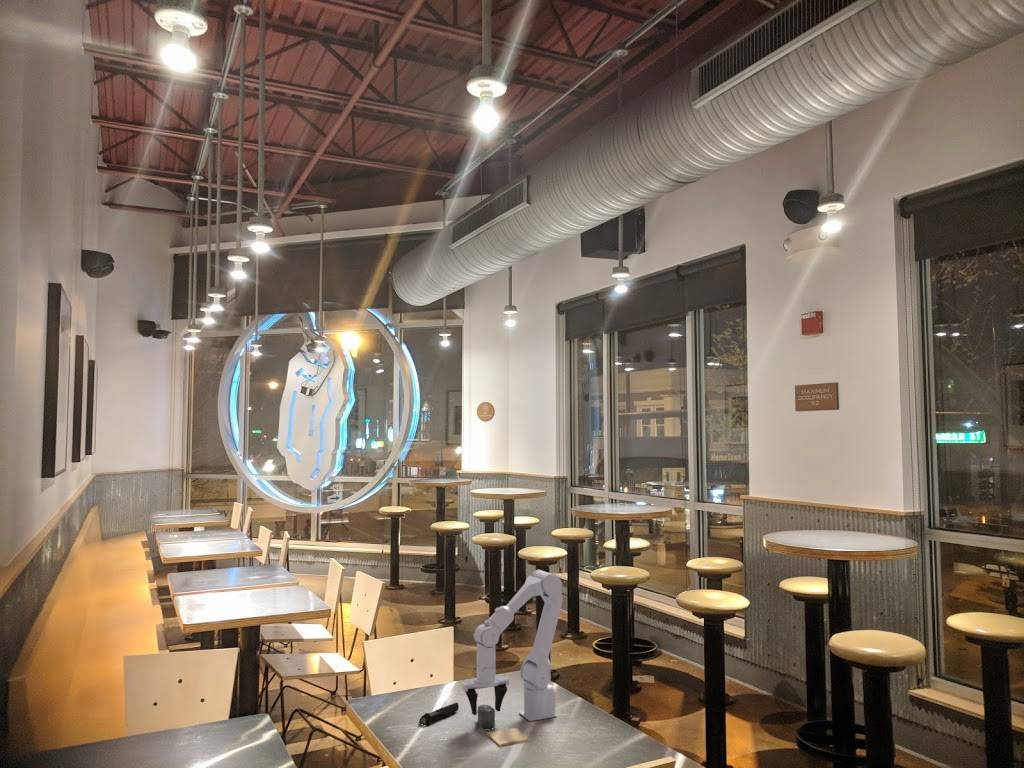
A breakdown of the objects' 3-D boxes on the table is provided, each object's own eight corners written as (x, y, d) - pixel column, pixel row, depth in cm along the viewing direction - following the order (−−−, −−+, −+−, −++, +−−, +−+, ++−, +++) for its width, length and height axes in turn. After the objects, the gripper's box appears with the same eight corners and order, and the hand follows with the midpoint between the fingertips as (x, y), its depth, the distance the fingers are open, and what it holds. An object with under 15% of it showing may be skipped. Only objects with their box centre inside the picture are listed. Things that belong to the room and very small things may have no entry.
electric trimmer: (461, 713, 237) (461, 703, 237) (426, 727, 225) (426, 716, 225) (453, 710, 239) (453, 700, 240) (417, 724, 227) (418, 713, 228)
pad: (515, 730, 222) (515, 727, 222) (528, 740, 214) (528, 738, 214) (487, 735, 218) (487, 732, 218) (499, 746, 210) (499, 744, 210)
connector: (496, 728, 223) (496, 711, 224) (484, 730, 222) (484, 713, 222) (485, 718, 231) (485, 701, 232) (473, 720, 230) (473, 703, 230)
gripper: (468, 672, 220) (468, 720, 219) (513, 666, 226) (513, 713, 225) (460, 666, 227) (459, 712, 226) (503, 660, 233) (504, 705, 232)
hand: (486, 712), depth 226 cm, fingers open, 7 cm apart
